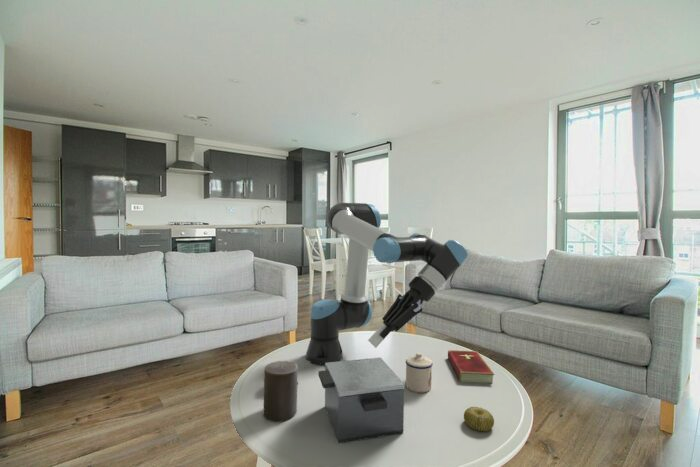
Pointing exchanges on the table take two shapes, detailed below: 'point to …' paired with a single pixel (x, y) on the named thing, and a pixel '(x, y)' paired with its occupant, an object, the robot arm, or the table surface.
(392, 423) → the grey storage box
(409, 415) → the table surface
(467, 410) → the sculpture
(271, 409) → the pillar candle
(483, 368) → the hardcover book
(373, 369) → the lid
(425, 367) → the teacup with lid
